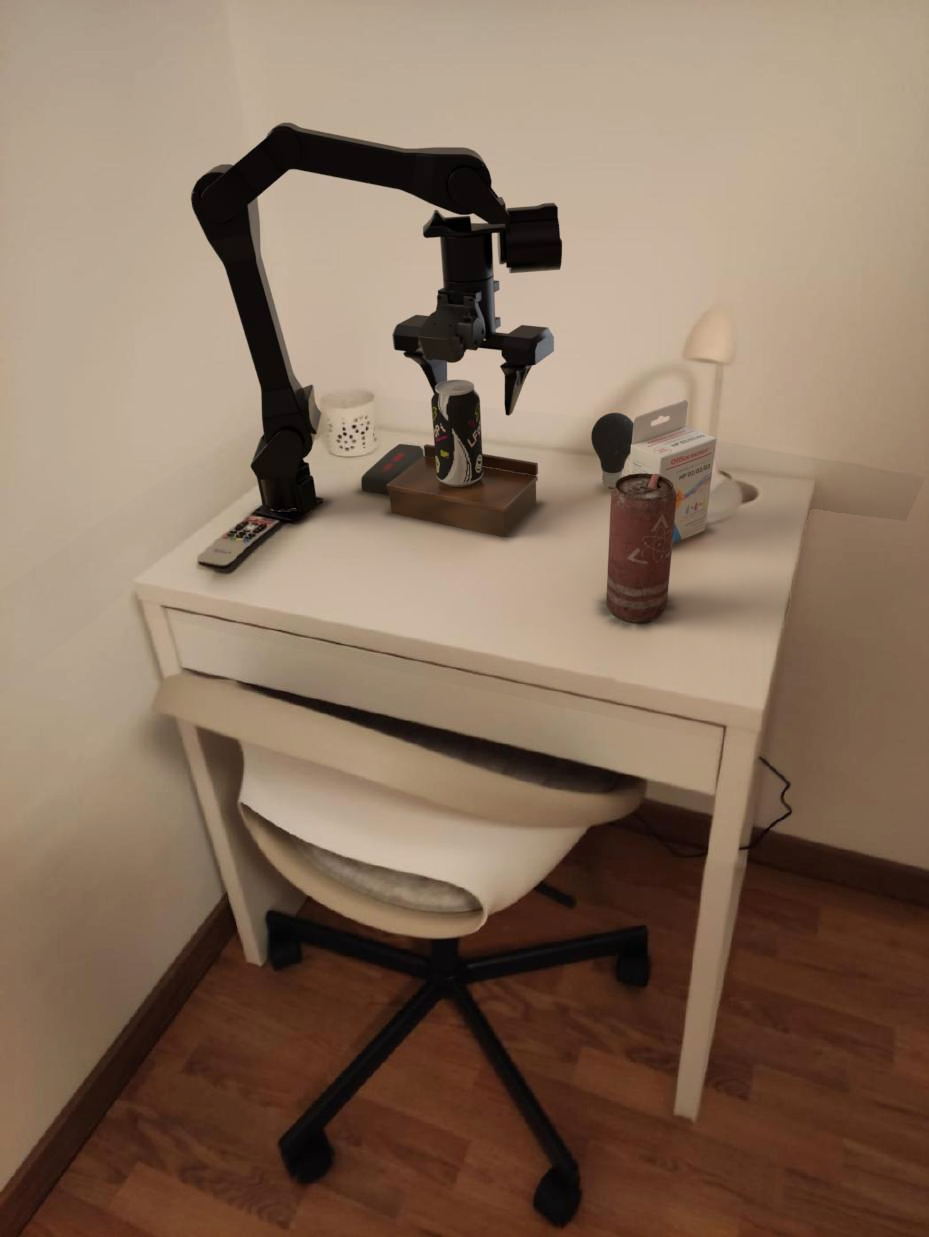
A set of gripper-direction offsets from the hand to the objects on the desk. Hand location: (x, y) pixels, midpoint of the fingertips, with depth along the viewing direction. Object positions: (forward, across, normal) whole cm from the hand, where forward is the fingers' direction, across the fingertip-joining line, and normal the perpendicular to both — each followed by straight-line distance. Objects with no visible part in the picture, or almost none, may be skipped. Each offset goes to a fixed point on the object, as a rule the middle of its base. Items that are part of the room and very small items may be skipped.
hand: (475, 409), depth 107 cm
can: (+12, +27, -16) cm, 34 cm away
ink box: (+12, +25, 0) cm, 28 cm away
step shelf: (+12, 0, -4) cm, 12 cm away
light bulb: (+12, +15, +8) cm, 21 cm away
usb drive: (+12, -13, +1) cm, 18 cm away
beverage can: (+8, 0, -4) cm, 9 cm away
